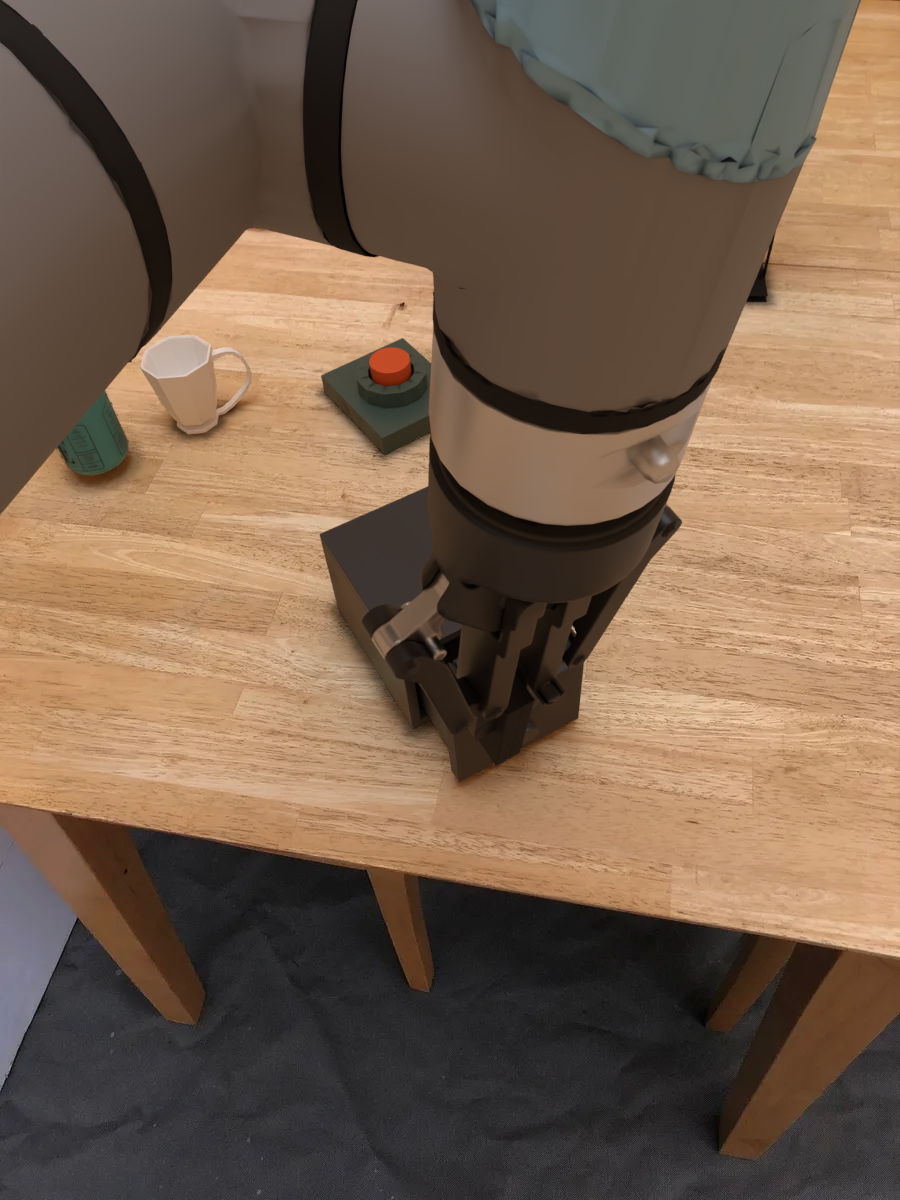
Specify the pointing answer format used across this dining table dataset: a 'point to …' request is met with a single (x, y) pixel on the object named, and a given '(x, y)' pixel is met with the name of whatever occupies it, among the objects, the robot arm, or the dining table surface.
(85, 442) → the beverage bottle
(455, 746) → the drawer
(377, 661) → the cabinet
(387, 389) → the button block
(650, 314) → the robot arm
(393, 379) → the button
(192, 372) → the cup
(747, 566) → the dining table surface
